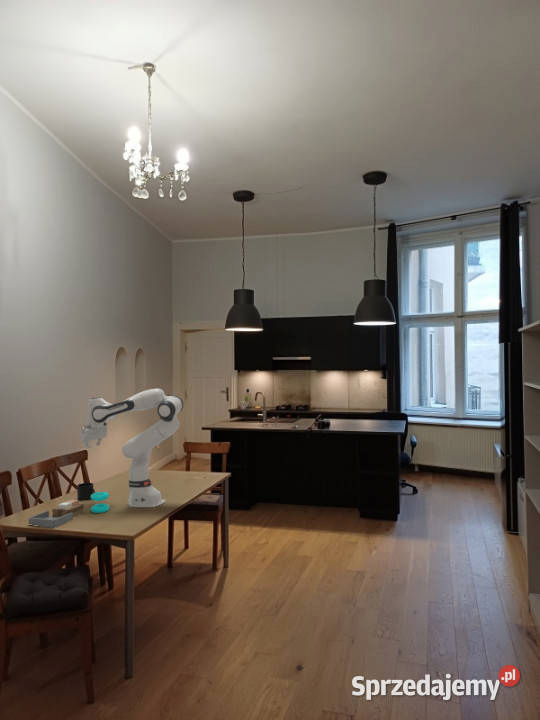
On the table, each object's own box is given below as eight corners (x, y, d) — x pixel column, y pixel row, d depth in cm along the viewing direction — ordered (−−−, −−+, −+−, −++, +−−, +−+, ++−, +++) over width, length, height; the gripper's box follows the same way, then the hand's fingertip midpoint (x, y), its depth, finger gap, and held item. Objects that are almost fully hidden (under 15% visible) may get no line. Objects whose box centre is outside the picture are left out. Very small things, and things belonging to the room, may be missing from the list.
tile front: (72, 506, 289) (72, 502, 289) (65, 509, 284) (65, 505, 284) (64, 506, 290) (64, 502, 290) (58, 508, 286) (58, 504, 286)
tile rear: (78, 504, 294) (78, 500, 294) (72, 506, 289) (72, 502, 289) (71, 503, 295) (71, 499, 295) (65, 505, 291) (65, 501, 291)
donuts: (97, 490, 303) (112, 491, 300) (97, 508, 303) (112, 509, 300) (86, 495, 293) (102, 496, 290) (87, 513, 293) (102, 514, 290)
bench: (83, 513, 293) (83, 504, 293) (68, 519, 282) (68, 510, 282) (67, 511, 297) (67, 502, 297) (52, 517, 285) (52, 508, 285)
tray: (72, 520, 280) (72, 512, 280) (54, 528, 267) (53, 520, 267) (47, 517, 286) (47, 510, 286) (28, 525, 273) (28, 517, 273)
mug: (89, 501, 317) (89, 487, 317) (74, 500, 322) (73, 485, 322) (100, 497, 326) (99, 483, 326) (84, 496, 330) (84, 482, 330)
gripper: (86, 426, 303) (85, 450, 303) (109, 422, 322) (108, 444, 322) (78, 425, 305) (76, 449, 305) (100, 421, 324) (99, 443, 324)
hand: (93, 446), depth 314 cm, fingers open, 8 cm apart
